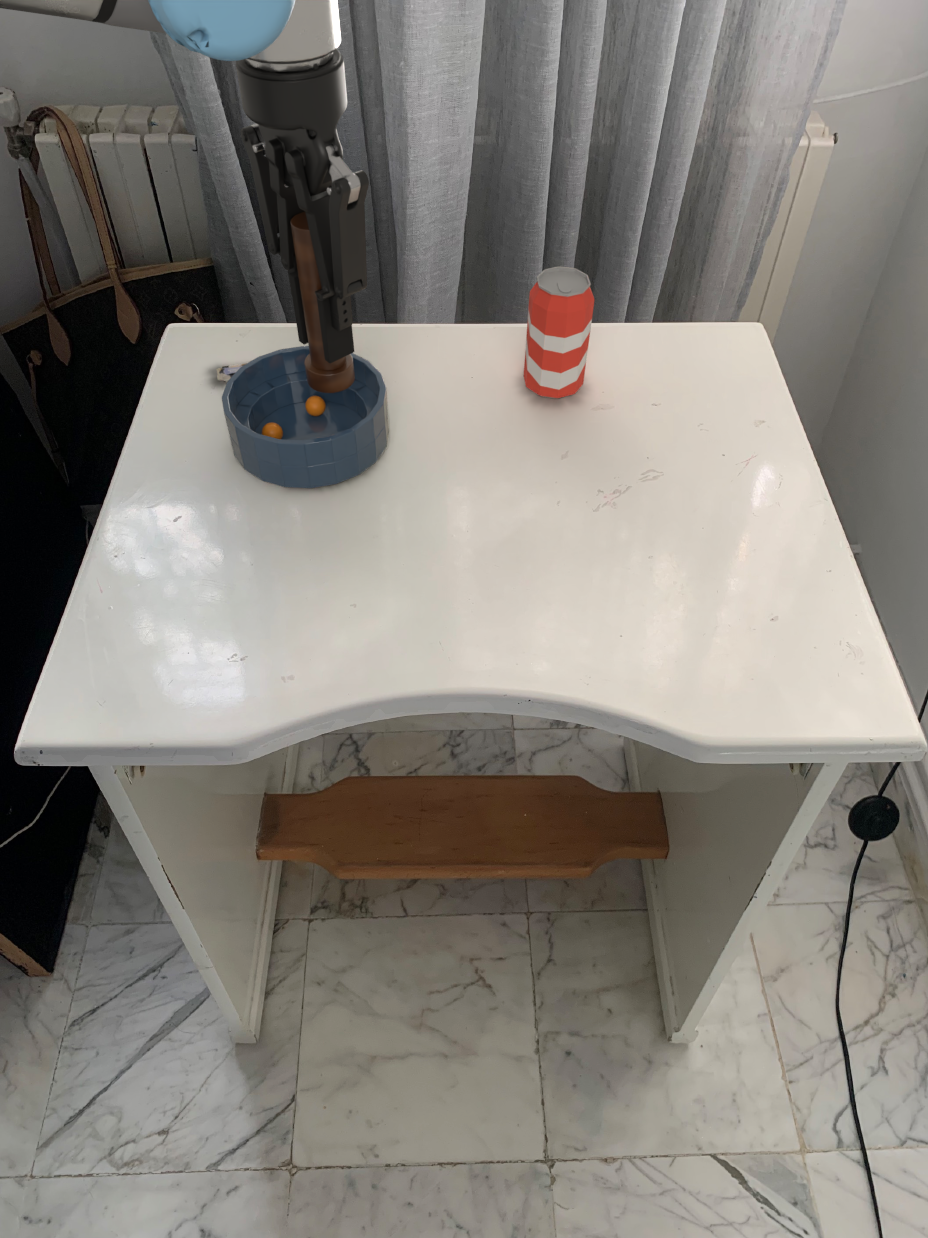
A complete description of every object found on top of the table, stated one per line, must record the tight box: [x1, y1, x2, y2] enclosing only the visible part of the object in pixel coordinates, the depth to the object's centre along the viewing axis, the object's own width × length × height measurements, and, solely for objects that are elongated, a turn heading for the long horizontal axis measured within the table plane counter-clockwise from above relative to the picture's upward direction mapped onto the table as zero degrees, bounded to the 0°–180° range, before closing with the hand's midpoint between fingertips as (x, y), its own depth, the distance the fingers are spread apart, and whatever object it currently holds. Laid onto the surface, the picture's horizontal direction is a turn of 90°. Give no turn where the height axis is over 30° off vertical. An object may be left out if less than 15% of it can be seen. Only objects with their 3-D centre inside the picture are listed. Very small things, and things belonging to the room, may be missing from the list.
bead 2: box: [305, 396, 326, 416], centre depth 89 cm, size 2×2×2 cm
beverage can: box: [523, 265, 595, 400], centre depth 90 cm, size 6×6×12 cm
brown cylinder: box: [291, 212, 355, 393], centre depth 77 cm, size 4×4×15 cm
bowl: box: [221, 345, 390, 489], centre depth 86 cm, size 15×15×6 cm
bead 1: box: [262, 423, 283, 439], centre depth 86 cm, size 2×2×2 cm
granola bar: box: [215, 362, 248, 383], centre depth 95 cm, size 7×2×1 cm, turn 103°
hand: (326, 345), depth 80 cm, fingers closed on brown cylinder, 3 cm apart
